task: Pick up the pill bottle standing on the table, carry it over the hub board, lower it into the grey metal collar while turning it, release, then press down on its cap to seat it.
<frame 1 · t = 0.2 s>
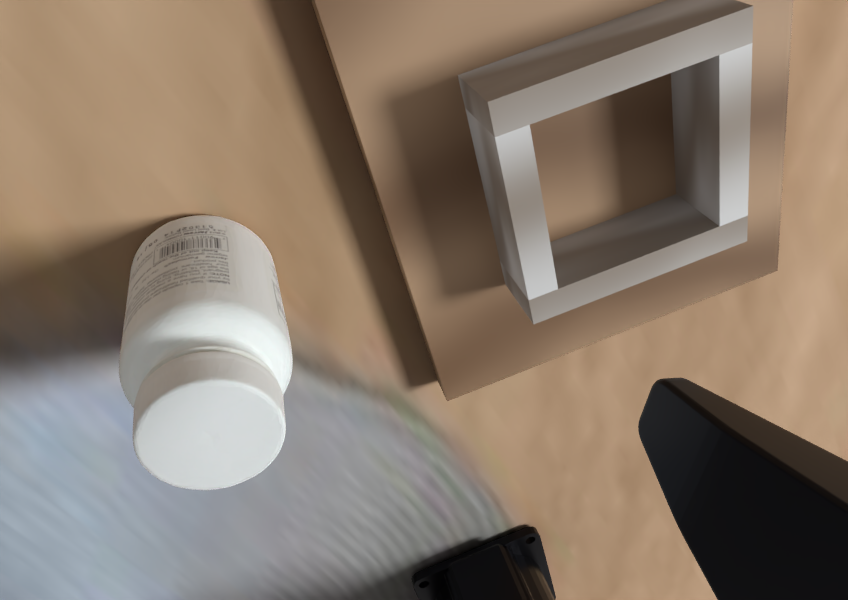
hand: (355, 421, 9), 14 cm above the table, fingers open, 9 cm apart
hub board: (577, 136, 24), on the table
pill bottle: (204, 270, 23), on the table
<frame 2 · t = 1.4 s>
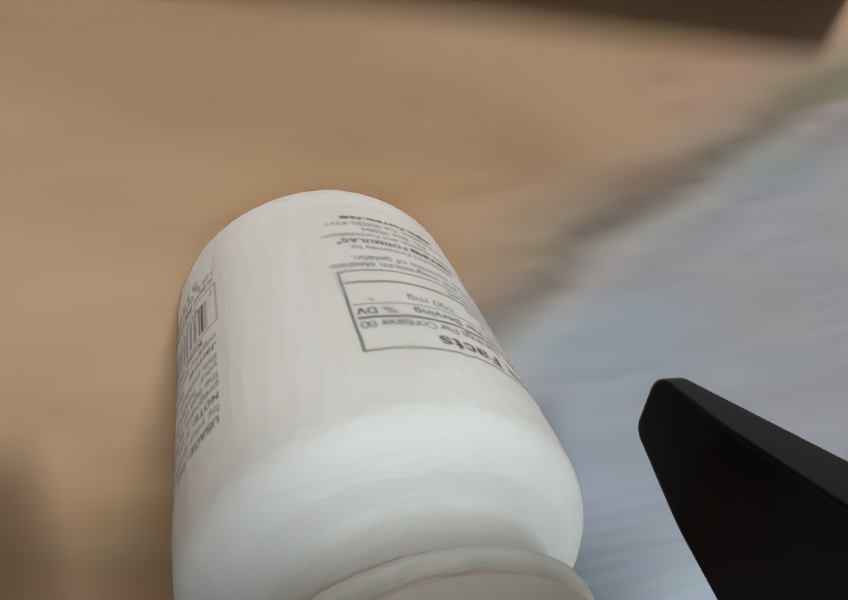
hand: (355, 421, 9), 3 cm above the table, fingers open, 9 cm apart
pill bottle: (318, 301, 12), on the table
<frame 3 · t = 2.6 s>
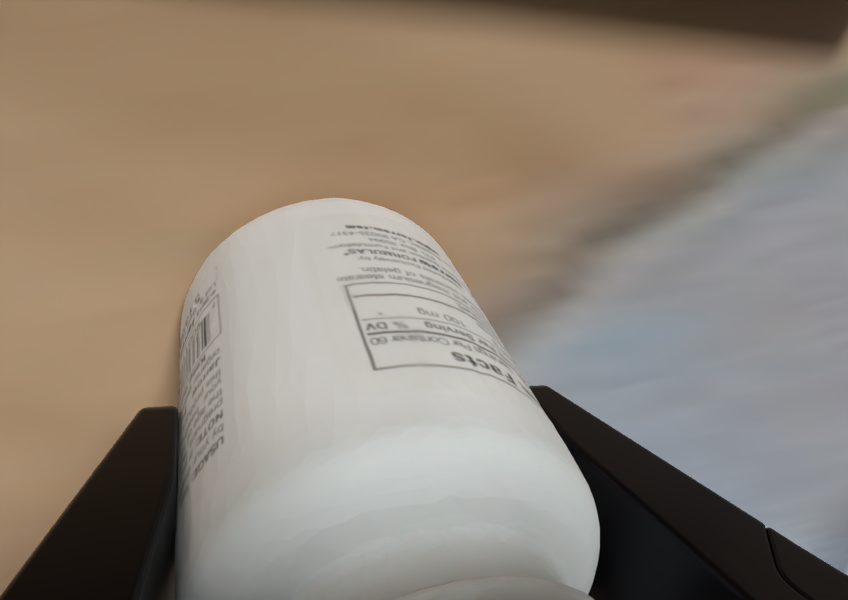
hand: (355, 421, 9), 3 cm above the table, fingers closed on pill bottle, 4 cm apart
pill bottle: (323, 311, 12), on the table, touching gripper
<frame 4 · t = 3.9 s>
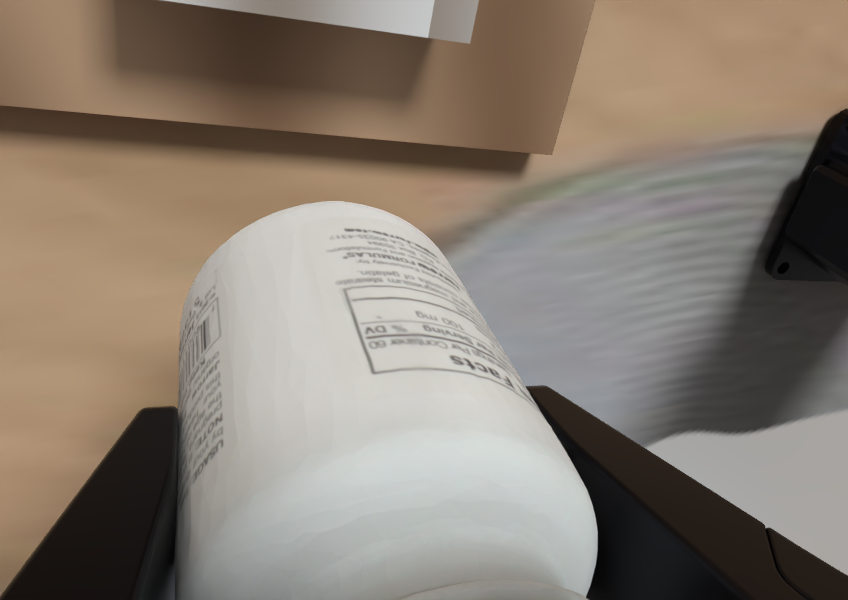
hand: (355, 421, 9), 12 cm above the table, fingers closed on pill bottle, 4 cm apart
pill bottle: (322, 313, 12), point 10 cm above the table, touching gripper
when the fingers open (5 cm above the table, at t = 5.7 s): pill bottle drops 1 cm, resting on hub board.
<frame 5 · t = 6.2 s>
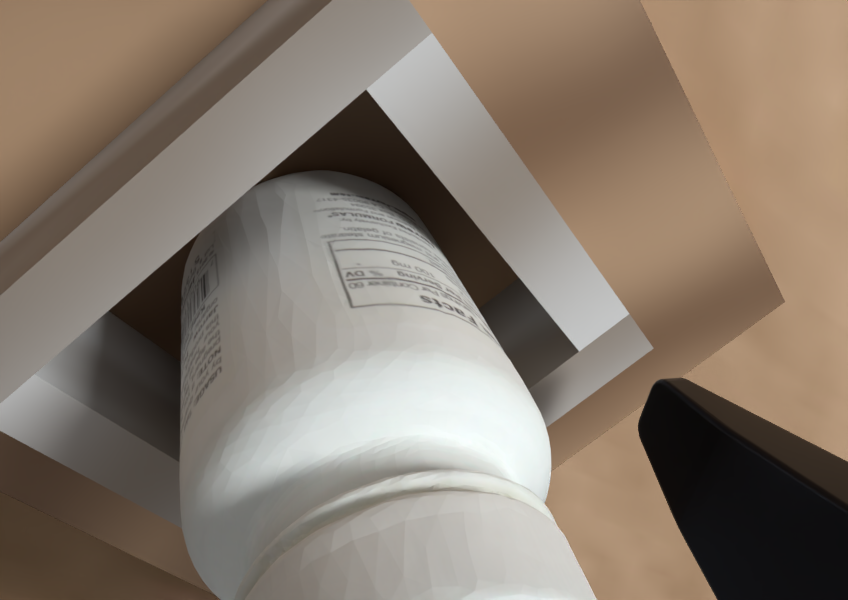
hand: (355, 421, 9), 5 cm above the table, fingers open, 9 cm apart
hub board: (305, 245, 13), on the table
pill bottle: (312, 277, 13), point 1 cm above the table, touching hub board
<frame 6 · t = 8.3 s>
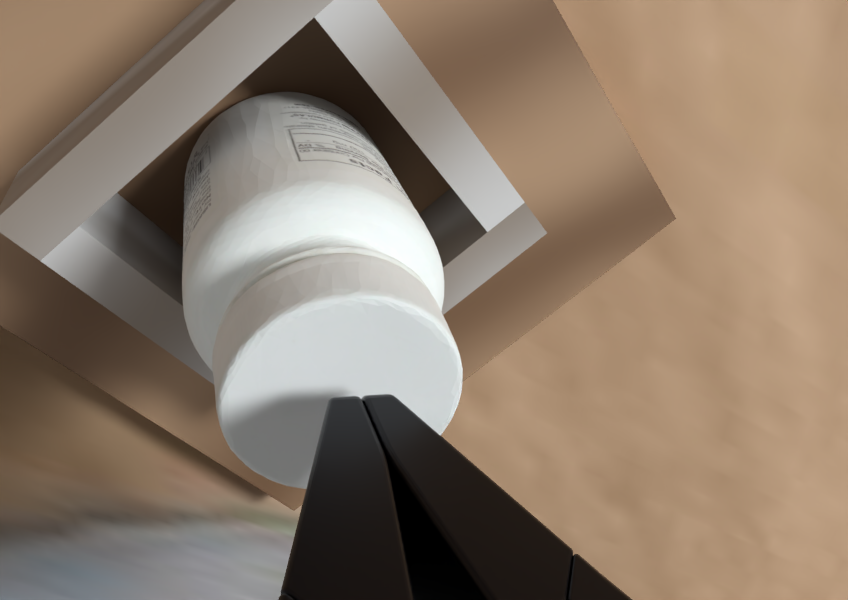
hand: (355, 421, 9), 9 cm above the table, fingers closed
hub board: (281, 161, 17), on the table
pill bottle: (286, 182, 16), point 1 cm above the table, touching hub board
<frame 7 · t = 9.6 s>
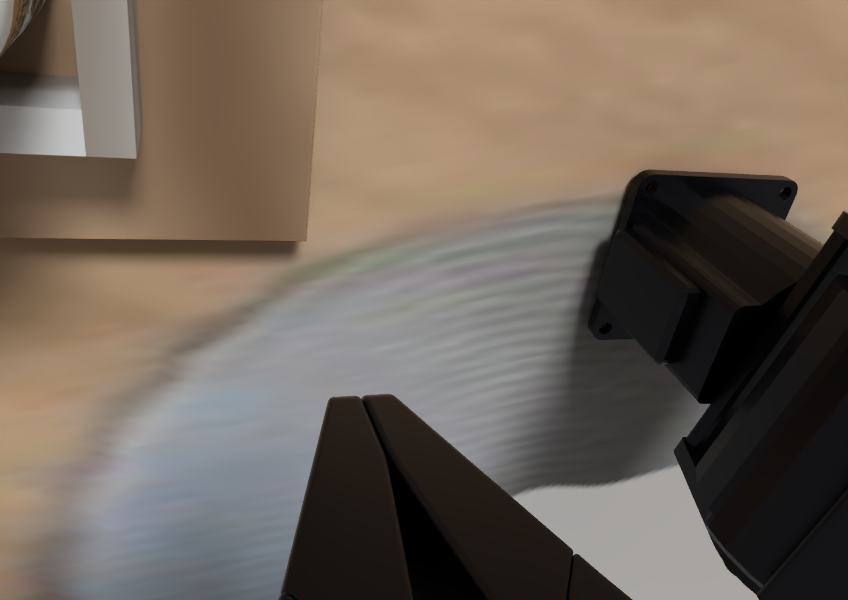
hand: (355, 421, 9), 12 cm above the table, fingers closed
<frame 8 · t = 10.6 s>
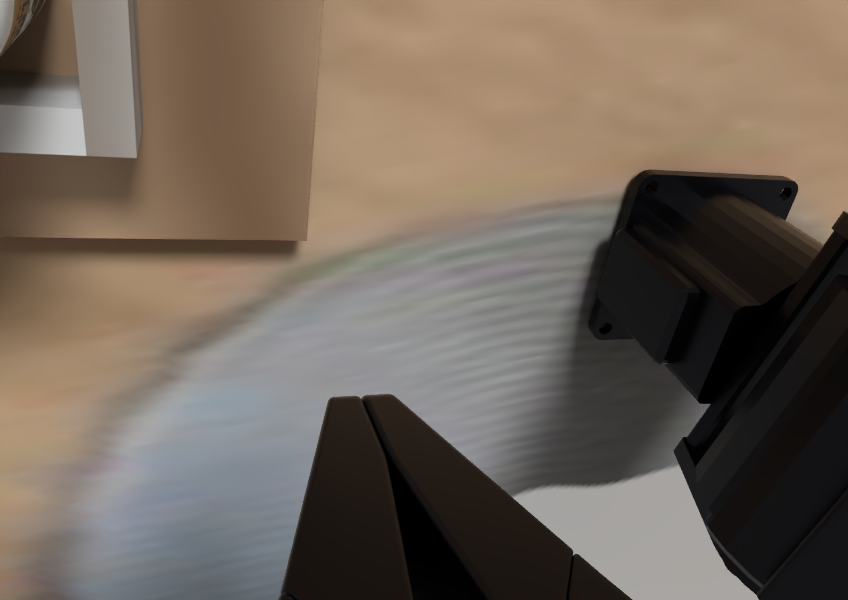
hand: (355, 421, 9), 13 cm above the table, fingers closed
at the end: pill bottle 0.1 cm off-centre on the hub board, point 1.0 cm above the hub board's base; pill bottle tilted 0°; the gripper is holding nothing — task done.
